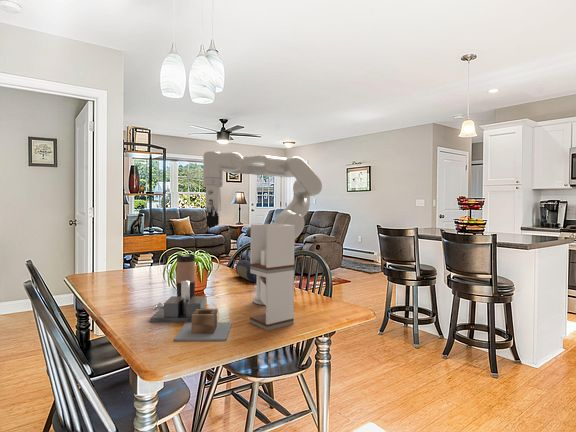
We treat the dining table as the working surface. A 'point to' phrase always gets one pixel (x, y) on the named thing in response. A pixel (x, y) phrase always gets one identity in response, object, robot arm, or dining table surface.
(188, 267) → the travel mug
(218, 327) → the mat
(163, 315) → the vise
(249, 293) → the dining table surface
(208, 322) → the collar
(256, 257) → the grey two-tier cabinet
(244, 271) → the portable speaker
